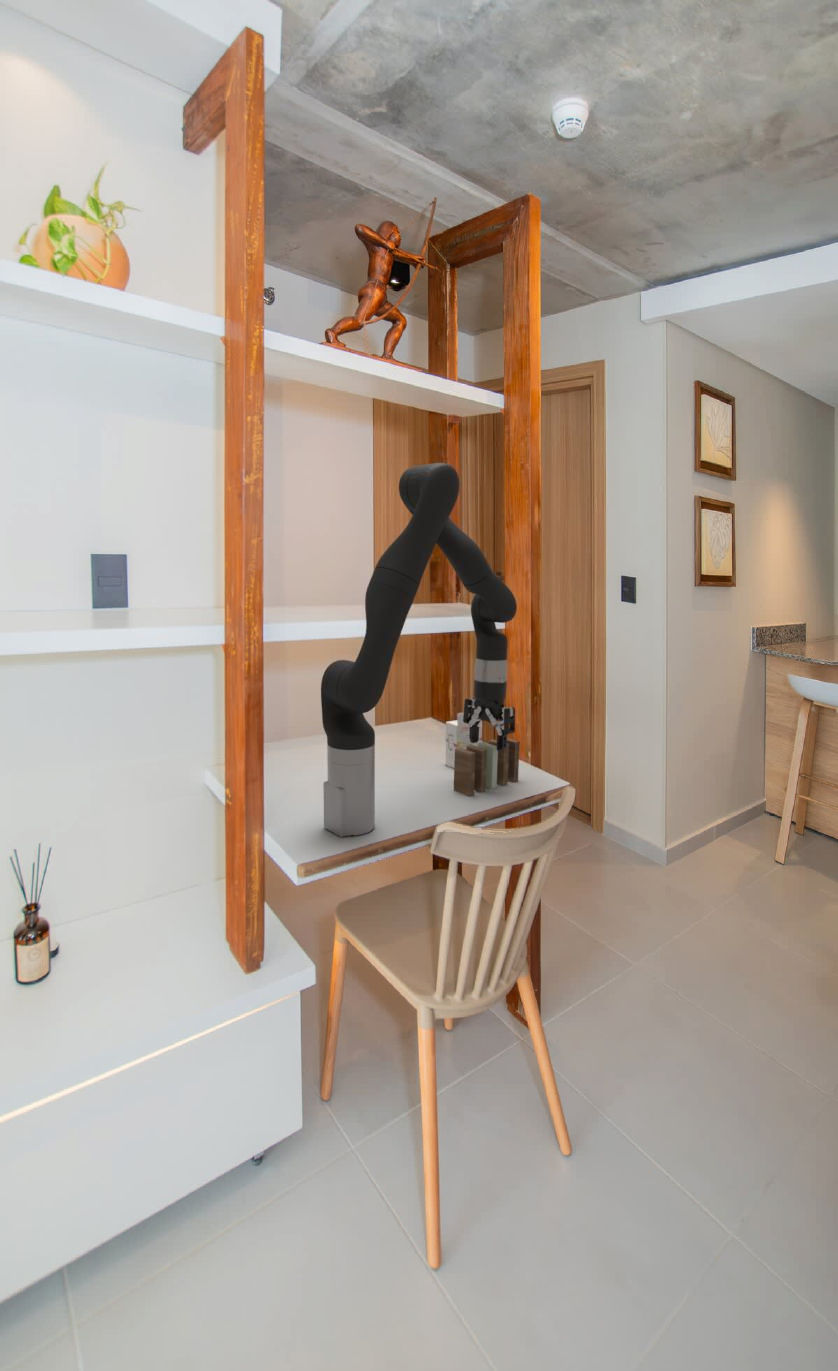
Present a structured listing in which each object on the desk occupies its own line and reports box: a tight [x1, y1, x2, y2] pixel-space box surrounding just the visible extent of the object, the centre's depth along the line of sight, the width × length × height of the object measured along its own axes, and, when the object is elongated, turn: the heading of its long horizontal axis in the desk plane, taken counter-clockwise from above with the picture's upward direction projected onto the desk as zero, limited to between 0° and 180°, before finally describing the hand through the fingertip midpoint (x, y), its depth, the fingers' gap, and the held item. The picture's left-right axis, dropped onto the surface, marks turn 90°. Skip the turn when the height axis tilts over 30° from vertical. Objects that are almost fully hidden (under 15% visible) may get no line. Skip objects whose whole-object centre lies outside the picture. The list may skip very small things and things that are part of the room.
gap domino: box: [478, 741, 498, 790], centre depth 156 cm, size 2×5×10 cm, turn 41°
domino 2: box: [466, 745, 487, 794], centre depth 153 cm, size 2×5×10 cm, turn 41°
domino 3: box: [488, 739, 509, 786], centre depth 158 cm, size 2×5×10 cm, turn 41°
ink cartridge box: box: [445, 710, 483, 769], centre depth 171 cm, size 9×5×15 cm, turn 126°
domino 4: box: [507, 737, 521, 783], centre depth 160 cm, size 2×5×10 cm, turn 41°
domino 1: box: [453, 748, 475, 797], centre depth 151 cm, size 2×5×10 cm, turn 41°
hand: (487, 746), depth 154 cm, fingers open, 8 cm apart
